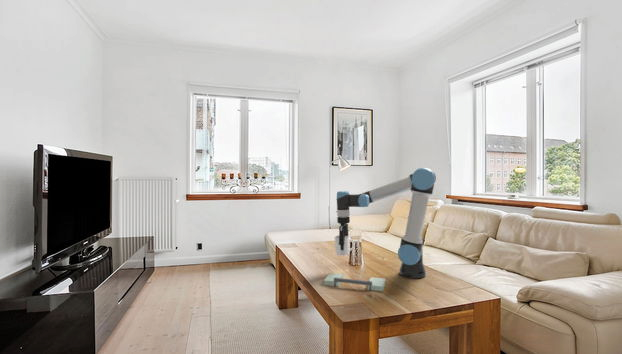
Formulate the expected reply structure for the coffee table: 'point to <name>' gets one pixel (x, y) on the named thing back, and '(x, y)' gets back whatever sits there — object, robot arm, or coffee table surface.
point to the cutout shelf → (375, 281)
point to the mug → (346, 242)
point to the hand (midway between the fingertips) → (344, 253)
